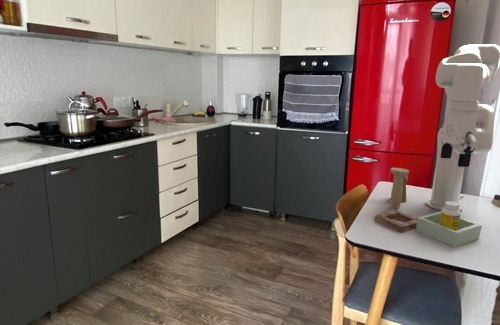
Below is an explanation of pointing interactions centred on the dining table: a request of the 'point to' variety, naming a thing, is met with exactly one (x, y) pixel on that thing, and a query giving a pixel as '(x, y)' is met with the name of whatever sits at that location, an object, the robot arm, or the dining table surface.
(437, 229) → the bin
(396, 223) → the holder
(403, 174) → the handle
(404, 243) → the dining table surface
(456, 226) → the supplement bottle
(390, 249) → the dining table surface
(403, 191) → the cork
